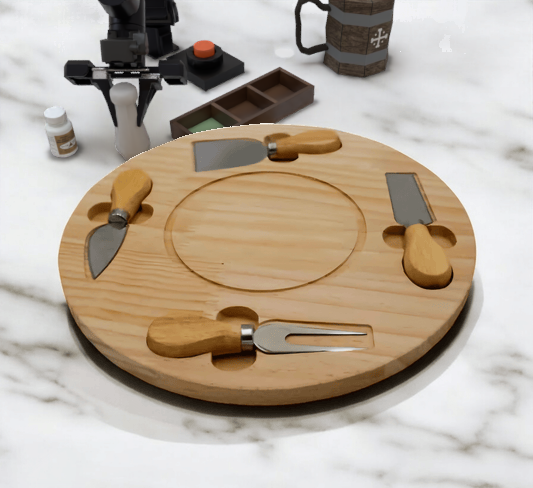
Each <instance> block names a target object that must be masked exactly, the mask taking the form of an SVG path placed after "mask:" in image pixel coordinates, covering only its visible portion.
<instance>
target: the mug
mask: <svg viewBox="0 0 533 488" xmlns="http://www.w3.org/2000/svg"><path fill="white" fill-rule="evenodd" d="M395 1H396V0H327V3H323V2H322V1H321V0H297V2H296V5H295V7H294V20H295V21H294V22H295V24H294V25H295V29H294V30H295V36H294V37H295V46H297V49H298V51H299V52H300V54H304V55H306V56H312V55H315V54H317V53H322V52H324V55H323V60H322V64H324V65H325V66H326V67H327V68H329V69H330V70H331V71H333V72H334V73H335V74H336V75H340V76H348V77H355V78H356V77H357V78H363V79H364V78H367V77H370V76H373V75H376V74H379V73H381V72H385V71H386V68H387V64H388V59H389V44H390V37H391V33H392V28H393V24H394V8H395ZM307 3H311V4H314V5H315V6H316V7H317V8H318V9H319V10H320V11H322V12H327V14H326V21H325V26H324V29H325V32H324V33H325V42H323V43H319V44H315V45H312V46H310V47H306V46H304V45H303V43H302V27H303V25H302V18H301V11H302V8H303V5H305V4H307Z"/></svg>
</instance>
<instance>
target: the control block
mask: <svg viewBox="0 0 533 488" xmlns="http://www.w3.org/2000/svg"><path fill="white" fill-rule="evenodd" d="M193 46H194V44H193V45H191V46H189V47H187V48H184V49H183V50H180V51H177V52H176V53H172V54H171V55H168V56H167V57H165V58H166V59H165V60H181V61H182V62H183V63H184V65H185V67H186V69H187V82H190V83H191V84H192V85H195V86H196V87H198V88H199V89H200V90H202V91H204V92H207V91H209V90H212V89H213V88H216V87H217V86H219V85H222V84H224V83H227V82H228V81H230V80H232V79H234V78H236V77H239V76H240V75H243V74H244V73H245V62H244V61H242V60H241V59H239V58H237V57H236V56H233V55H232V54H230V53H228V52H227V51H225V50H223V48H222V47H221V46H219V45H217V44H216V43H214V48H215V54H214V55H213V56H211V57H206V58H201V57H196V56H195V55H194V47H193Z"/></svg>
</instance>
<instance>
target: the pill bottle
mask: <svg viewBox="0 0 533 488" xmlns="http://www.w3.org/2000/svg"><path fill="white" fill-rule="evenodd" d="M43 117H44V121H45V124H44V130H45V134H46V139H47V141H48V145H49V148H50V151H51V154H52V155H53V156H54V157H57V158H68V157H70V156H71V157H72V156H73V155H75V154H76V153H77V151H78V149H79V147H78V141H77V138H76V134H75V130H74V126H73V122H72V121H71V120H70V119H69V118H68V115H67V111H66V109H65V108H64V107H63V106H60V105H54V106H50V107H48V108H46V109H45V110H44V111H43Z"/></svg>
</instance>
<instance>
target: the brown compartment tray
mask: <svg viewBox="0 0 533 488" xmlns="http://www.w3.org/2000/svg"><path fill="white" fill-rule="evenodd" d="M315 87H316V86H315V85H314V84H312V83H310V82H308V81H306V80H305V79H303V78H301V77H299V76H297V75H296V74H294V73H292V72H290V71H289V70H287V69H285V68H283V67H281V66H278V67H275V68H273V69H272V70H270V71H268V72H266V73H264V74H262V75H260V76H258V77H256V78H254V79H252V80H250V81H248V82H246V83H244V84H242V85H240V86H237V87H235V88H233V89H231V90H230V91H227V92H226V93H225V92H224V93H223V94H222V95H219V96H217V97H215V98H212V99H211V100H209V101H207V102H205V103H203V104H201V105H199V106H197V107H195V108H192V109H191V110H188V111H187V112H184V113H183V114H180V115H179V116H176V117H174V118H172V119H170V120H169V128H170V138H171V139H173V140H174V139H177V138H179V137H182V136H185V135H189V134H193V133H196V132H201V131H206V130H211V129H217V128H223V127H230V126H231V127H232V126H240V125H249V124H260V123H275V124H277V123H278V122H280V121H282V120H284V119H286V118H288V117H289V116H291V115H293V114H295V113H296V112H299V111H300V110H302V109H304V108H306V107H307V106H309V105H311V104H313V103H314V102H315Z"/></svg>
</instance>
